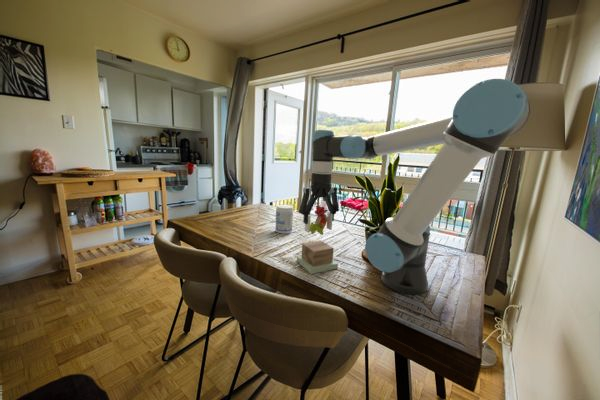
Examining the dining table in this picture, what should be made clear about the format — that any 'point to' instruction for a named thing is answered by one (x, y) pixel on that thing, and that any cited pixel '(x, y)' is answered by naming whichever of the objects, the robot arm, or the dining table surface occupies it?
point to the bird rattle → (319, 221)
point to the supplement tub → (284, 219)
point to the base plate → (316, 268)
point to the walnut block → (317, 253)
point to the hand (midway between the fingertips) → (318, 230)
